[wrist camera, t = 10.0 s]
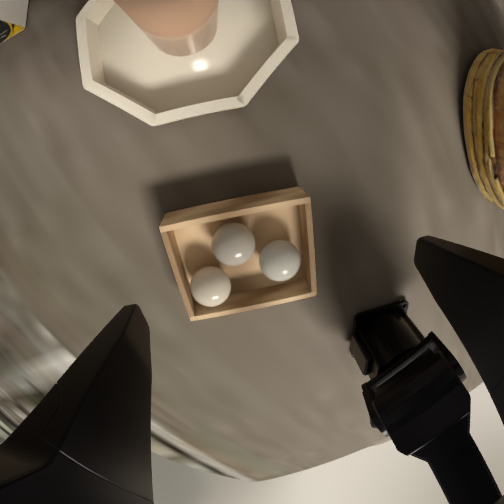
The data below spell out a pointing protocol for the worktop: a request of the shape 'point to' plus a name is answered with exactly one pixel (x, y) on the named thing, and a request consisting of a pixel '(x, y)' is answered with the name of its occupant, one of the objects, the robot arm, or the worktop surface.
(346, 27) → the worktop surface
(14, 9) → the medicine bottle
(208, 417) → the worktop surface
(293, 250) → the pebble
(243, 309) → the parts tray
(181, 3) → the spice jar
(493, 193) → the tankard
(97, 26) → the dish
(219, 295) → the pebble
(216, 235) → the pebble
